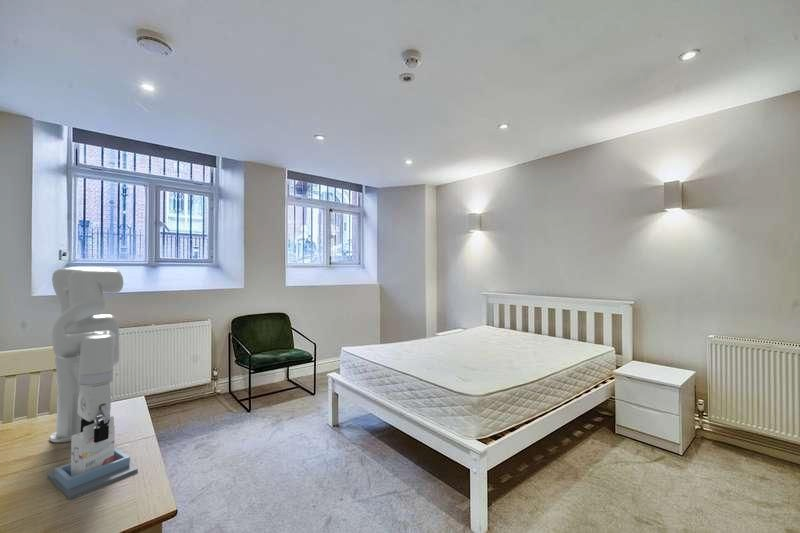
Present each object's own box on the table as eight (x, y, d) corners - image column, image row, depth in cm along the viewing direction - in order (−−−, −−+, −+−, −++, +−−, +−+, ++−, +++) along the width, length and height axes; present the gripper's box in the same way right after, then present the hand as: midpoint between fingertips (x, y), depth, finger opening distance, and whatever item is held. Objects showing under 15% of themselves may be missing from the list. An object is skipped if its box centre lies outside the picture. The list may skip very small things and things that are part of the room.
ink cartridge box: (102, 461, 106) (104, 413, 106) (114, 464, 105) (116, 415, 105) (69, 477, 98) (70, 425, 98) (81, 480, 96) (83, 427, 97)
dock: (47, 477, 99) (47, 465, 99) (111, 454, 112) (112, 443, 112) (70, 499, 90) (70, 486, 90) (137, 471, 103) (137, 460, 103)
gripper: (68, 374, 103) (66, 432, 103) (91, 387, 94) (89, 450, 94) (100, 369, 109) (98, 423, 109) (124, 380, 100) (122, 439, 100)
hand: (94, 435), depth 102 cm, fingers open, 9 cm apart
